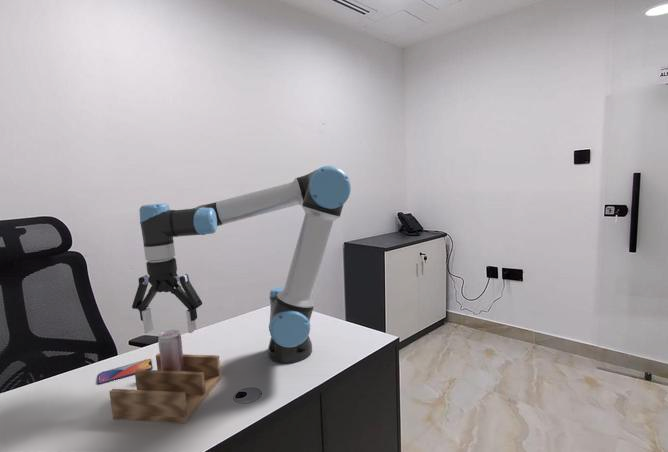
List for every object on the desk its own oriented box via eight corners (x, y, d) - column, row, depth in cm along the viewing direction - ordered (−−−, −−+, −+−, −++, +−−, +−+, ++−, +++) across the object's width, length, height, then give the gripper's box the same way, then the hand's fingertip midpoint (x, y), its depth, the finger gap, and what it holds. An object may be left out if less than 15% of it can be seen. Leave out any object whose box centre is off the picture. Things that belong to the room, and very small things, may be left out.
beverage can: (162, 380, 103) (157, 332, 101) (184, 374, 106) (179, 327, 104) (163, 390, 98) (157, 340, 96) (186, 384, 101) (181, 335, 99)
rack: (221, 378, 106) (219, 355, 105) (185, 423, 86) (182, 395, 85) (160, 376, 108) (158, 353, 107) (112, 418, 89) (109, 391, 88)
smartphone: (98, 376, 111) (98, 372, 111) (151, 361, 119) (151, 358, 119) (97, 387, 105) (97, 384, 105) (153, 370, 112) (152, 367, 112)
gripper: (209, 254, 99) (217, 325, 102) (130, 257, 103) (140, 325, 106) (195, 261, 92) (204, 337, 95) (110, 263, 95) (122, 336, 98)
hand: (170, 331), depth 100 cm, fingers open, 13 cm apart
